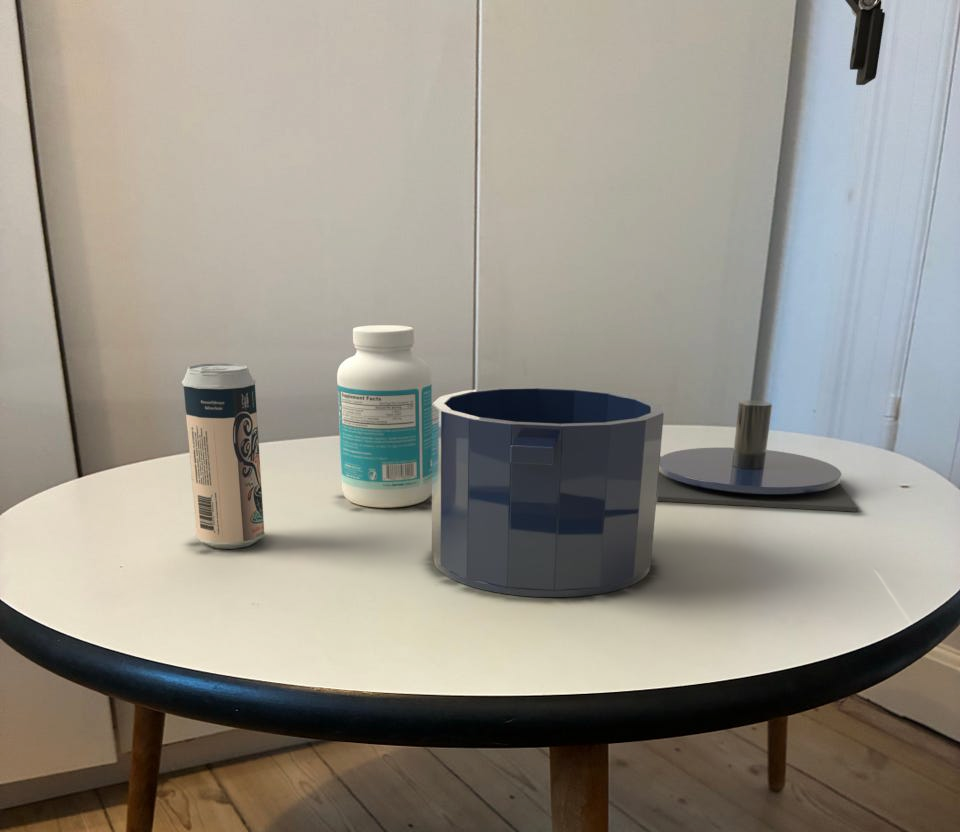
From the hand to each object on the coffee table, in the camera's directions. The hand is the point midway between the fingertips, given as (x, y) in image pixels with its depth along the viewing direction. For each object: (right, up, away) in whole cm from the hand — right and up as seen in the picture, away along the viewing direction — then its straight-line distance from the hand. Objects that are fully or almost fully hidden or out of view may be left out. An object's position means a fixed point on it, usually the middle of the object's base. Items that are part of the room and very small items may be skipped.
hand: (940, 82), depth 68 cm
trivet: (-7, -23, +24) cm, 34 cm away
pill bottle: (-38, -25, +16) cm, 49 cm away
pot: (-26, -32, +2) cm, 41 cm away
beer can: (-48, -30, +5) cm, 57 cm away
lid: (-7, -22, +23) cm, 33 cm away
